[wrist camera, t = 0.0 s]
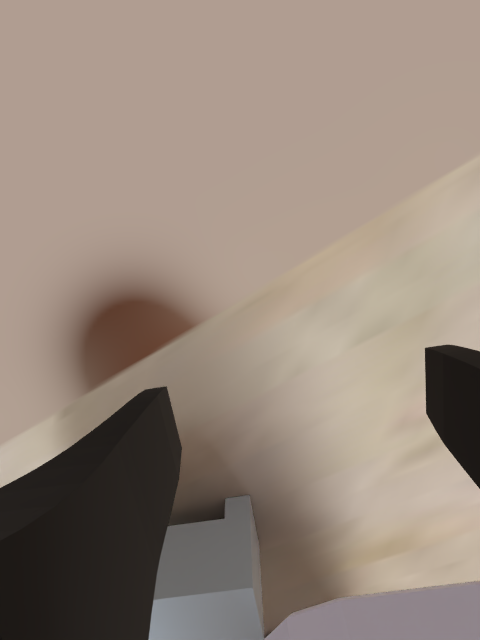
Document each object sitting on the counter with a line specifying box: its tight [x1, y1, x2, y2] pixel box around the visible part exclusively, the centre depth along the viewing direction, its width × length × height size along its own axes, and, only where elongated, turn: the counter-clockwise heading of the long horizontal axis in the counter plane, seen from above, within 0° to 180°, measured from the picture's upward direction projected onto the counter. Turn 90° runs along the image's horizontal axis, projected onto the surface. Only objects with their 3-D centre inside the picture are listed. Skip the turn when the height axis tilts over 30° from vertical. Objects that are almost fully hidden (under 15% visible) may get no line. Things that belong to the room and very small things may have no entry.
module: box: [149, 495, 265, 640], centre depth 23 cm, size 4×9×6 cm, turn 99°
